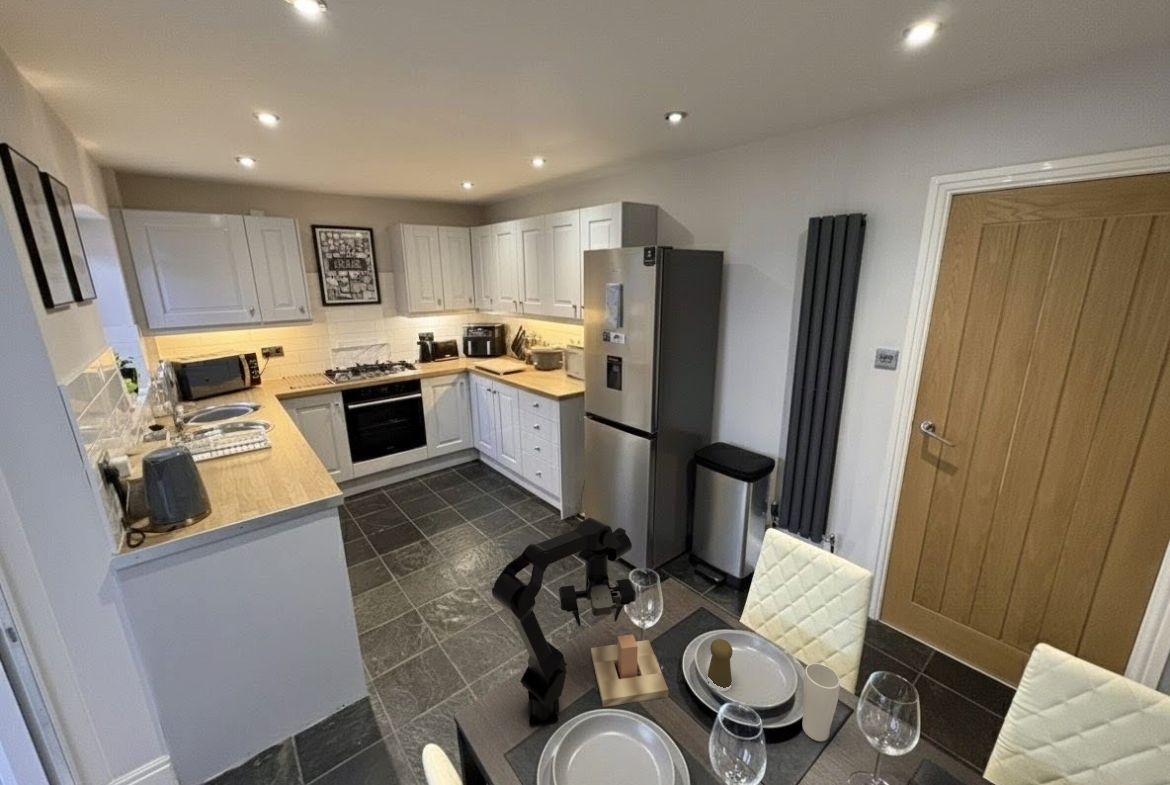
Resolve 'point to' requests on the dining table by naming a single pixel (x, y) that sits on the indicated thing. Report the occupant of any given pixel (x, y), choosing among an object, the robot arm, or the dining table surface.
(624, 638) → the brown tall block
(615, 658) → the wooden square hole board
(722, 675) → the olive brown pawn
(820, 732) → the drinking glass
